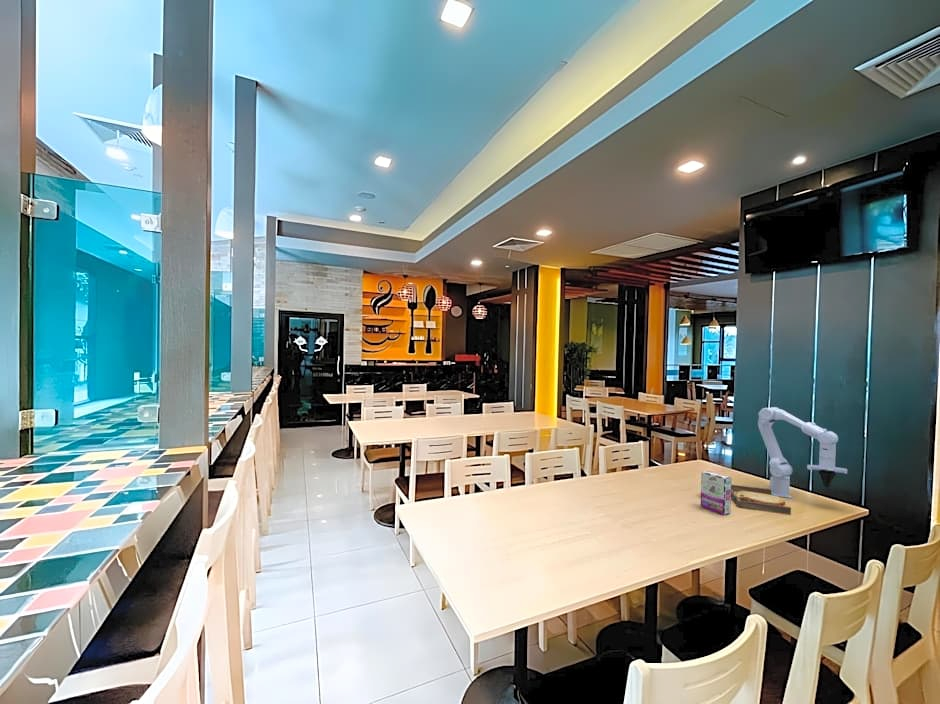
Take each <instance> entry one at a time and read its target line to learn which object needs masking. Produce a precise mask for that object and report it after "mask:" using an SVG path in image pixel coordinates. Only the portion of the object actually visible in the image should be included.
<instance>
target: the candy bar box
mask: <svg viewBox="0 0 940 704" xmlns="http://www.w3.org/2000/svg"><path fill="white" fill-rule="evenodd" d="M700 482H701V484H700V507H701V508H703V509H706V510H710V511H711V512H714V513H717V514H720V515H722V516H726V515H730V514H731V504H732V502H731V500H732V498H731V485H732V477H731V476H727V475H725V474H721V473H718V472H715V471H710V470H705V471H701V481H700Z"/></svg>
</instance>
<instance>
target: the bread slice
mask: <svg viewBox="0 0 940 704" xmlns="http://www.w3.org/2000/svg"><path fill="white" fill-rule="evenodd" d="M734 493H735V494H736V495H737V497H738V498H739V499H740V500H741V501H747V502H755V503H762V504H770V505H778V506H785V505H786V501H785V499H783V497H780V496H773V495H772V494H771V495H768V494H763V493H756V492H748V491H743V490H742V491H739V492H736V491H735V492H734Z"/></svg>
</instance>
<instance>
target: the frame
mask: <svg viewBox="0 0 940 704" xmlns="http://www.w3.org/2000/svg"><path fill="white" fill-rule="evenodd" d="M742 490H743V491H748V492H756V493H763V494H768V495H772V494H771V489H770V488H763V487H762V488H761V487H757V486H756V487H755V486H747V485H736V484H731V500H732V501H733V502H734V503H735V504H736V506H737V507H738V508H741V509H747V510H753V511H762V512H768V513H777V514H783V515H791V513H792V507H791V506H785V505H784V506H778V505H770V504H762V503H755V502H747V501H741V500H740V499H739V498H738V497H737V495H736V494H735V493H736V492H739V491H742Z"/></svg>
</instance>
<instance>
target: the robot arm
mask: <svg viewBox="0 0 940 704" xmlns="http://www.w3.org/2000/svg"><path fill="white" fill-rule="evenodd" d="M757 415H758V420H757V421H758V422H757V425H758V426H757V427H758V429H759V432H760V435H761V438H762V441H763V442H764V445H765V448H766V450H767V454H768V456H769V464H768V465H769V473H770V474H771V476H770V478H769V489H771V495H773V496H778V497H780V498H790V499H793V496H792V495H791V494H790V488H791V487H790V486H791V485H790V483H791V482H790V481H791V480H790V479H791V478H790V477H791V476H790V475H792V474H793V471H794V470H793V467H792V465H790V464H789V462H788V460H787V459H786V458H785V457H784V455H783V453H782V451H781V449H780V446H779V443H778V441H777V438H776V436H775V433H774V431H773V428H772V426H773V424H774V423H775V422H776V421H778V420H780V421H785V422H787V423H789V424H791V425H793V426H795V427H797V428H799V429H801V431H802V433H804V434H805V435H808V436H810V437H812V438H814V439H815V440H817V441H818V442H819V455H818V464H807V465H806V469H807V470H809V471H812V470H813V471H817V472H818V474H819V476H820V478H821V481H822V484H823V487H824V488H830V485H831V482H832V481H833V479H834V478H835V477H836V475H837V474H836V473H840V474H842V473H843V474H846V475H847V474H848V468H845V467H844V468H843V467H837V466H836V455H837V454H836V453H837V452H836V451H837V450H836V449H837V447H836V446H837V443H838V441H839V436H838V435H837V433H835V432H834V431H832V430H828V429H827V428H822V427H820V426H819V425H817V424H816V422H810V421H808V422H805V421H803V420H801V418H797V417H796V416H794V415H793V414H791V413H789V412H787V411H785V410H784V409H780V408H779V407H776V406H772V407H763V408H762V409H760V410H759V412H758V413H757Z"/></svg>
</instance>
